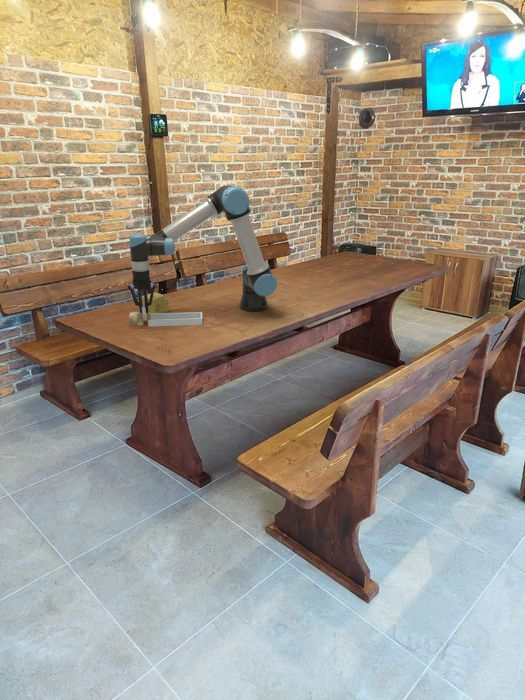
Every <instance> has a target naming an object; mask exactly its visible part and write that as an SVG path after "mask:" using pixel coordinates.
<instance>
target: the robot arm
mask: <svg viewBox="0 0 525 700" xmlns="http://www.w3.org/2000/svg"><path fill="white" fill-rule="evenodd" d="M222 213H224V215H225V217H226V221H228V222H230V223H231V225H232V227H233V230H234V234H235V235H236V239H237V241H238V242H237V243H238V244H239V248H240V249H241V253H242V256H243V258H244V261H245V263H246V264H244V265H243V266H242V269H241V270H242V271H241V272H242V273H241V274H242V277H241V278H242V293H241V298H240V301H239V306H238V307H239V309H240V310H242V311H247V312H260V311H261V312H262V311H265V310H267V309H268V307H269V302H268V300H267V297H269V296H271V295H272V294H274V293H275V291H276V289H277V287H278V280H277V278H276V276H275V275H274V274H273V273H272V271H271V268H270V265H269V264H268V263H266V262H265V260H264V256H263V254H262V251H261V248H260V244H259V243H258V239H257V236H256V233H255V230H254V227H253V225H252V221H251V218H250V214H251V209H250V198H249V194H248V193H247V191H245V190H244V189H243V188H241V187H240V186H235V185H230V184H229V185H227V184H226V185H223V186H220V187H219V188H218V189H216V190H215V191H213V192H212V193H211V194H210V195H208V196H206V197H205V201H203V202H201V203H200V204H198V205H197V206H195V207H194V208H193V209H191V210H190V211H188V212H187V213H185V214H183V215H182V216H180V217H179V218H177V219H176V220H174V221H172V222H171V223H170V224H169V225H167V226H165V227H164V228H162V229H160V230H159V231H158V232H157V233H156V232H155V233H152V234H151V235H149V237H147V235H146V234H144V233H143V234H141V233H139V234H137V233H136V234H132V235H130V236H129V252H130V263H131V269H132V273H131V274H132V282H131V283H130V284H128V285H127V288H128V290H129V291H130V294H131V297H132V300H133V302H134V305H135V306H137V307H139V312H140V313H142V314H143V321H144V322H145V321H148V317H147V315H148V314H146V313H148V311H149V310H148V306H149V305H151V304H152V299H153V294H154V293H155V289H156V287H157V284H156V283H154V282H152V280H151V277H150V270H149V269H150V262H149V257H159V256H171V255H174V254H175V252H176V249H175V248H176V245H175V244H176V243H175V241H177V240H178V239H180V238H181V237H183V236H184V235H186V234H187V233H189V232H190V231H192V230H194V229H195V228H196V227H198V226H199V225H201V224H203V223H205V221H208V220H209V219H210V218H212V217H213V216H219V215H220V214H222ZM134 287H135V289H136V290H137V294H138V298H137V295H136V292H135V289H134ZM149 288H151V290H150V293H151V294H150V293H149V294H150V300H149V302H148V297H147V295H148V289H149ZM142 291H143V294H142ZM142 295H143V296H144V300H145V305H144V306H142Z"/></svg>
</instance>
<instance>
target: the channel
mask: <svg viewBox="0 0 525 700" xmlns="http://www.w3.org/2000/svg"><path fill="white" fill-rule="evenodd" d="M203 324H204V323H203V311H195V312H191V311H189V312H187V311H186V312H165V313H150V314H149V319H147V325H148V328H149V327H178V326H179V327H181V326H203Z"/></svg>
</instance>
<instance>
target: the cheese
mask: <svg viewBox="0 0 525 700" xmlns="http://www.w3.org/2000/svg"><path fill="white" fill-rule="evenodd" d="M150 294H151V292H150V293H147V297H148V302H149V300H150ZM144 305H145V300H144V295H143V296H142V306H144ZM148 310H149V311H148V313H146V315H150V313H169V312H170V307H169V299H168V298H166V297H165V295H164V294H162V293H158V292H154V294H153V299H152V304H151V305H149V306H148Z"/></svg>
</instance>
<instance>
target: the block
mask: <svg viewBox="0 0 525 700" xmlns="http://www.w3.org/2000/svg"><path fill="white" fill-rule="evenodd" d="M128 321H129V327H130V326H131V327H132V326H144V323H145V321H143V314H142V313H140V311H137V312H136V311H135V312H129V315H128Z"/></svg>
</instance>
